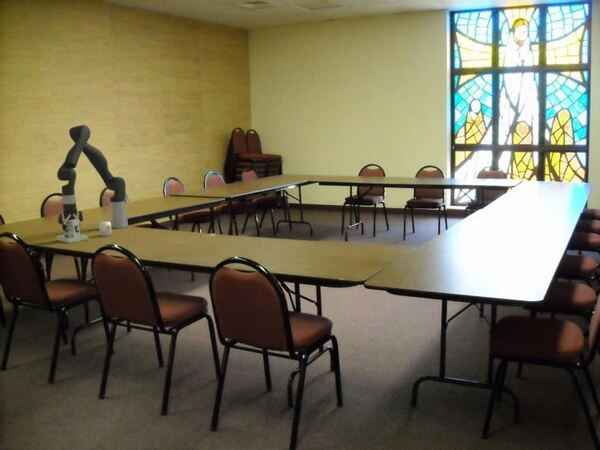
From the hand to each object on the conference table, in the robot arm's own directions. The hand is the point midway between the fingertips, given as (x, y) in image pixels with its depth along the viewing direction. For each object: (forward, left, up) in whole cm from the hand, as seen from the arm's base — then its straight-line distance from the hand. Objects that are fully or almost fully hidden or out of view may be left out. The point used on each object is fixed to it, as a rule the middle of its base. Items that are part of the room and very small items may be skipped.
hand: (71, 229), depth 385 cm
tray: (0, 0, -6) cm, 6 cm away
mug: (-21, +3, -6) cm, 22 cm away
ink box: (0, 0, -6) cm, 6 cm away
